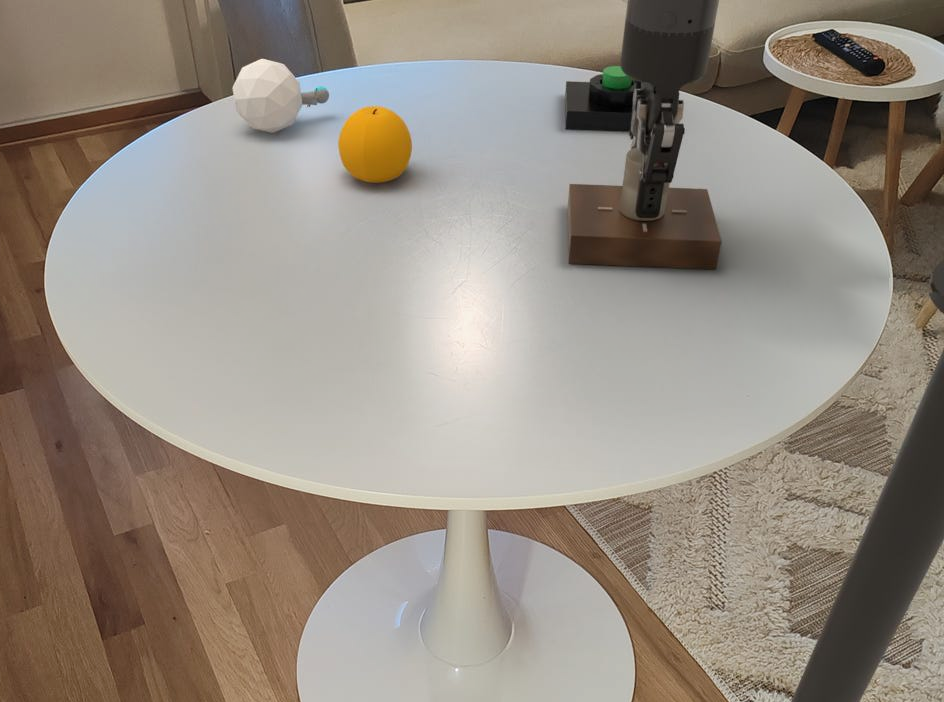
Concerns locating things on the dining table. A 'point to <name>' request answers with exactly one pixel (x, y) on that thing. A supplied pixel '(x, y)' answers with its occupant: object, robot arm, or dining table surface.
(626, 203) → the dimmer knob
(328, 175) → the dining table surface
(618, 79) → the green push button
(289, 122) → the perfume bottle
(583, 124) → the block
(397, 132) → the orange fruit
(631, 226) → the dimmer panel
